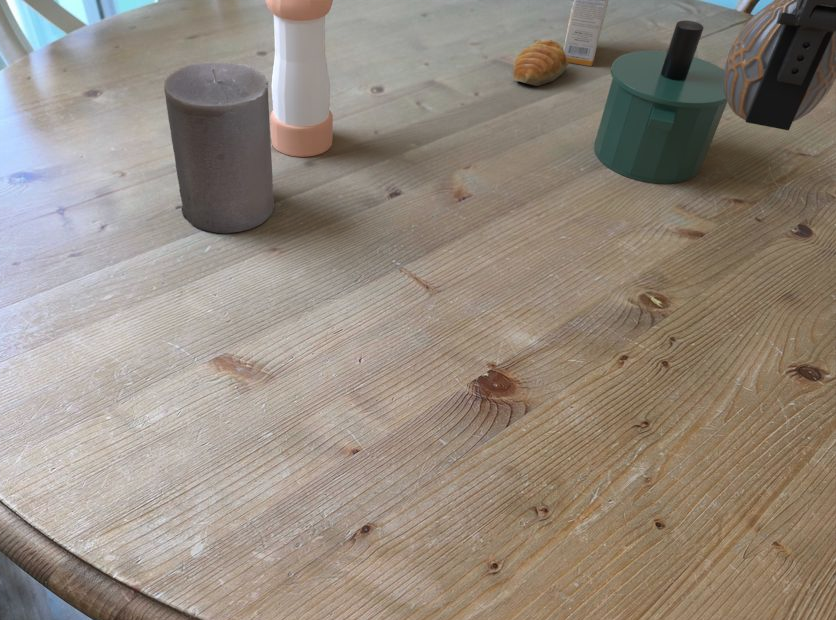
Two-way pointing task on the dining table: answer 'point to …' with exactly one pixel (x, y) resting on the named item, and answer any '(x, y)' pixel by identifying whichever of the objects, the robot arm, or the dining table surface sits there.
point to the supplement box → (584, 30)
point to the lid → (672, 72)
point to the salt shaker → (300, 78)
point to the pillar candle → (221, 145)
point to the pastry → (540, 63)
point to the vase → (755, 54)
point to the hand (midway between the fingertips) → (767, 99)
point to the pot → (654, 137)
